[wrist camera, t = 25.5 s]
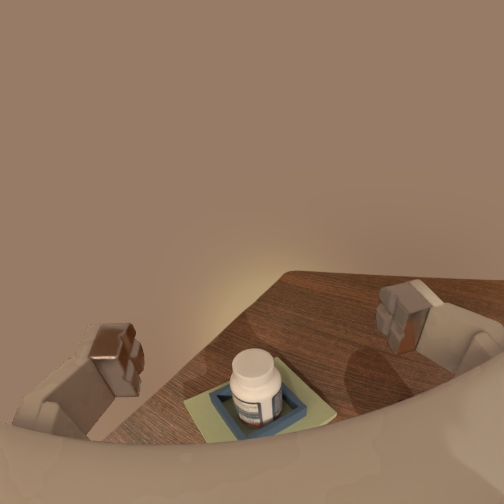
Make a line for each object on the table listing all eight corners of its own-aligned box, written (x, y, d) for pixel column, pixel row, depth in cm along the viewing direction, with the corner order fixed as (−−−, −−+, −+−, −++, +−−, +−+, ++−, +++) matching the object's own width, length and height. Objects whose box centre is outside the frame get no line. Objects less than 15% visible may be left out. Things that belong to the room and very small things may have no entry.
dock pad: (231, 479, 23) (227, 471, 22) (184, 405, 33) (178, 391, 31) (336, 416, 29) (339, 403, 28) (277, 361, 39) (277, 346, 37)
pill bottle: (270, 387, 34) (267, 336, 30) (290, 418, 29) (291, 370, 25) (230, 402, 32) (218, 353, 28) (246, 435, 27) (237, 391, 24)
